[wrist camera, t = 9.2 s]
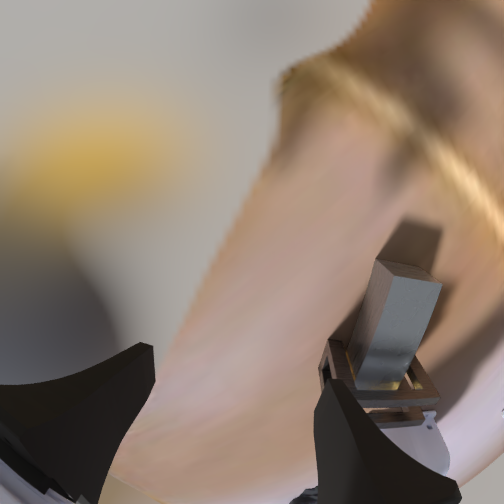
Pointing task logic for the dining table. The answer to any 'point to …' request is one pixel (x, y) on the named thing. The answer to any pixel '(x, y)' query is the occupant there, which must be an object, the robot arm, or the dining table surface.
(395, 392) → the collar frame
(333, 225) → the dining table surface
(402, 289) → the grey rectangular block
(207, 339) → the dining table surface
